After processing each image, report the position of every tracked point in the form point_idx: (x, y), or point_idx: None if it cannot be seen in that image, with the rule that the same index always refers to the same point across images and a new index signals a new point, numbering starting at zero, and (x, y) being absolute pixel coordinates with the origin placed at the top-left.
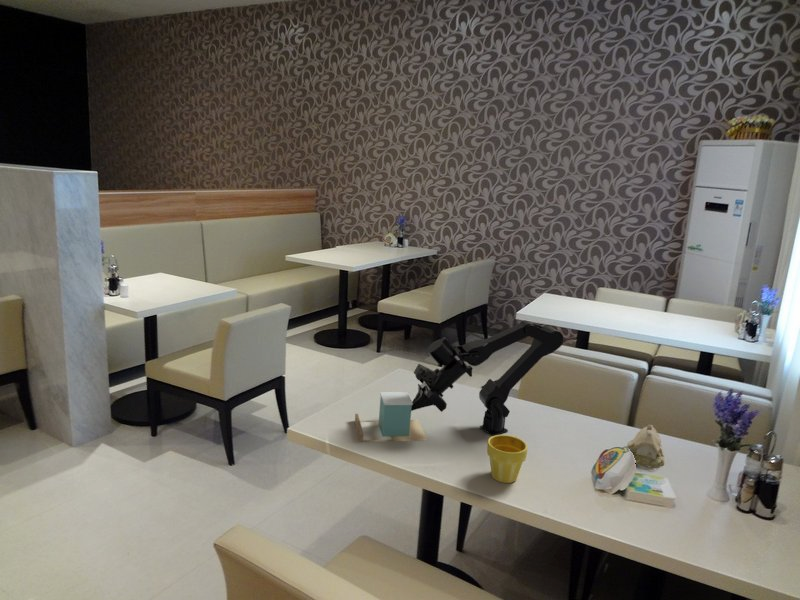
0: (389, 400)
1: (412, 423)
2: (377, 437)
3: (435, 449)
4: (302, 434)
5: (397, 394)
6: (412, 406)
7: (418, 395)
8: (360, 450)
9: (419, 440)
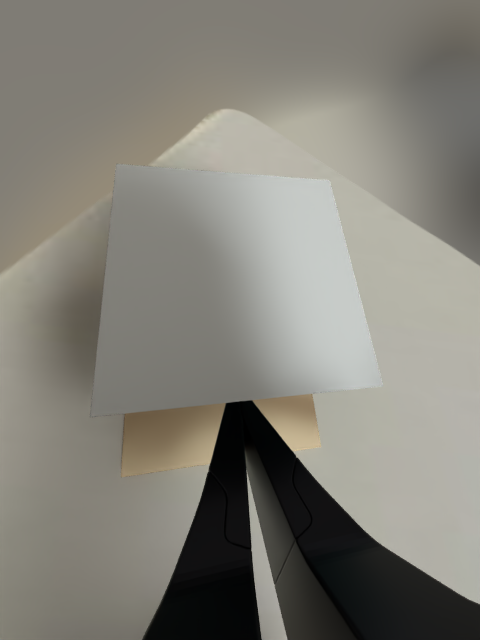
0: (173, 207)
1: (284, 419)
2: None
3: (44, 509)
4: (206, 116)
5: (310, 290)
6: (221, 421)
7: (289, 526)
8: (94, 221)
9: (123, 434)
